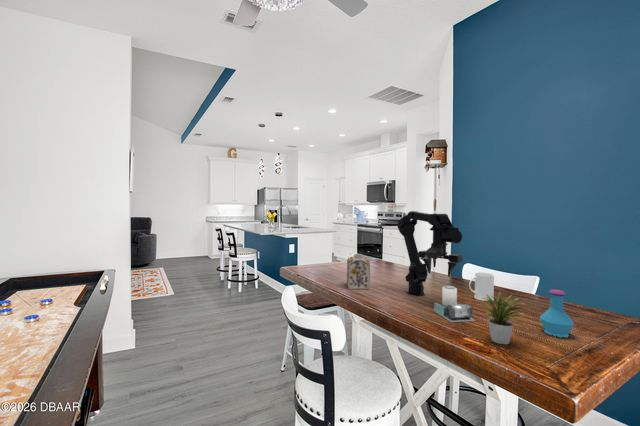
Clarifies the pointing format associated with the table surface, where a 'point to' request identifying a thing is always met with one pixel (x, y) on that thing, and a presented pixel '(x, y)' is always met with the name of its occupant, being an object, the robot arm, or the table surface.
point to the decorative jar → (358, 272)
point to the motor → (455, 312)
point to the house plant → (501, 319)
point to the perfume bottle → (556, 316)
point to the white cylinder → (449, 296)
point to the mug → (483, 286)
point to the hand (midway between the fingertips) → (438, 275)
